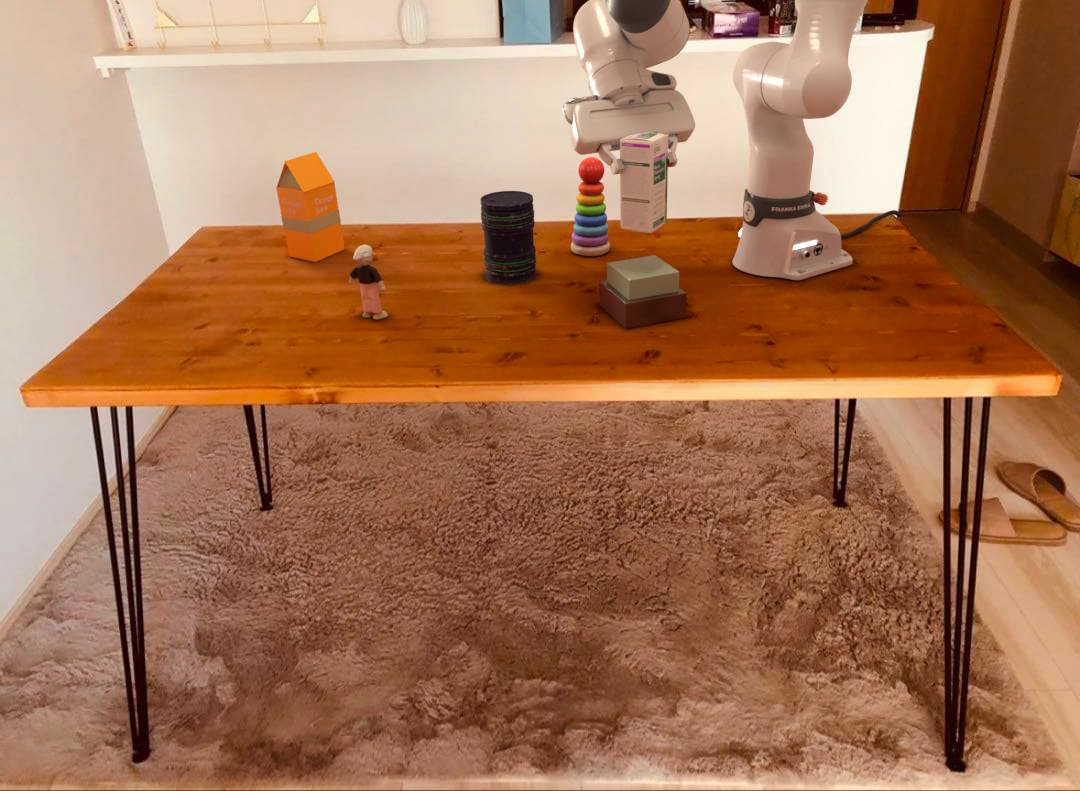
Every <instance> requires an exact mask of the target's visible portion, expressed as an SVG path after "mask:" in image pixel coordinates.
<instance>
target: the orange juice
mask: <svg viewBox="0 0 1080 791" xmlns="http://www.w3.org/2000/svg"><path fill="white" fill-rule="evenodd" d="M335 185H336V184H335V180H334V178H333V177H332V175H331V173H330V172H329V170H328V168H327V167H326V165H325V164H324V162H323V161H322V158H321V157H320V156H319V154H318V152H317V151H314V152H311V153H308V154H304V155H300V156H298V157H293V158H291V159H287V160H284V164H283V167H282V169H281V173H280V176H279V179H278V183H277V185H276V187H275V188H276V193H277V200H278V205H279V210H280V215H281V222H282V228H283V231H284V237H285V242H286V248H287V252H288V257H290V258H294V259H298V260H304V261H309V262H313V263H316V262H319V261H321V260H323V259H326V258H328V257H330V256H332V255H334V254H337V253H340V252H342V251H344V250H345V241H344V235H343V229H342V222H341V215H340V214H341V213H340V209H339V203H338V197H337V191H336V190H337V188H336V186H335Z"/></svg>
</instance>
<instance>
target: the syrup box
mask: <svg viewBox="0 0 1080 791" xmlns="http://www.w3.org/2000/svg"><path fill="white" fill-rule="evenodd" d="M668 151H669V148H668V134H666V133H661V132H653V131H650V132H644V133H639V134H634V135H630V136H627V137H625V138H622V139H620V150H619V159H622V161H623V163H622V164H623V165H624V168H625V169H624V171H623V173H622V174H619V198H620V199H619V201H620V202H619V203H620V204H619V206H620V207H619V208H620V210H619V211H620V213H619V214H620V215H619V216H620V220H619V221H620V224H619V225H620V229H622V230H627V231H632V232H639V233H647V234H652V233H654V231H656V230H658V229H659V228H661V227H662V226H664V225H666V224H667V223H668V182H669V181H668V178H669V176H668V174H669V172H668V171H669V167H668Z"/></svg>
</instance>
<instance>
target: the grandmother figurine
mask: <svg viewBox="0 0 1080 791" xmlns="http://www.w3.org/2000/svg"><path fill="white" fill-rule="evenodd" d="M373 254H374V253H373V248H372V247H371V246H370V245H367V244H361V245H359V246H358V247H357V248H356V249H355V250H354V253H353V257H352V259H353V261H355V262H358V264H359V265H357V266H354V268H352V270H351V271H350V272H349V280H348V283H349V284H350V285H355V284H356V280H357V279H358V283H359V286H360V287H359V288H360V297H361V302H362V303H361V304H362V307H363V313H362V318H365V319H368V318H371V317H372V319H373V320H382V319H385V318H387V317H388V316H389V313H388V312H387V311H386V310H383V309H382V304H381V300H380V293H379V292H381V293H384V292H386V290H387V288H386V287H385V283H384V281H383V280H384V279H383V277H382V276H381V274H380V272H379V271H378V268H376V267H374V266H372V263H373V260H374V257H373Z"/></svg>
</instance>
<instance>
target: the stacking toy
mask: <svg viewBox="0 0 1080 791" xmlns="http://www.w3.org/2000/svg"><path fill="white" fill-rule="evenodd" d="M577 172H578V176H579V178H580V180H581V181H582V182H580V183H579V184H578V187H577V188H578V189H577V190H578V192H579V193H577V195H576V201H577V204H576V205H575V210H576V213H575V215H574V222H575V223H574V224H573V232H572V234H571V241H572V242H571V244H570V249H571V251H572V252H573V253H574V254H576V255H579V256H582V257H583V256H584V257H597V256H598V257H599V256H602V255H605V254H606V253H608V252H609V251H610V250H611V243H610V241H609V238H610V235H609V233H608V231H609V224H608V223H607V221H608V215H607V213H606V210H607V205H606V203H605V202H604V201H605V195H604V193H603V192H604V190H605V185H604V182H601V180H602V179H603V178H604V175H605V165H604V164H603V161H602V160H601V159H600V158H597V157H594V156H591V157H590V156H589V157H586V158H584V159H583V160H582V161H581V162H580V163H579V166H578V171H577Z"/></svg>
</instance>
